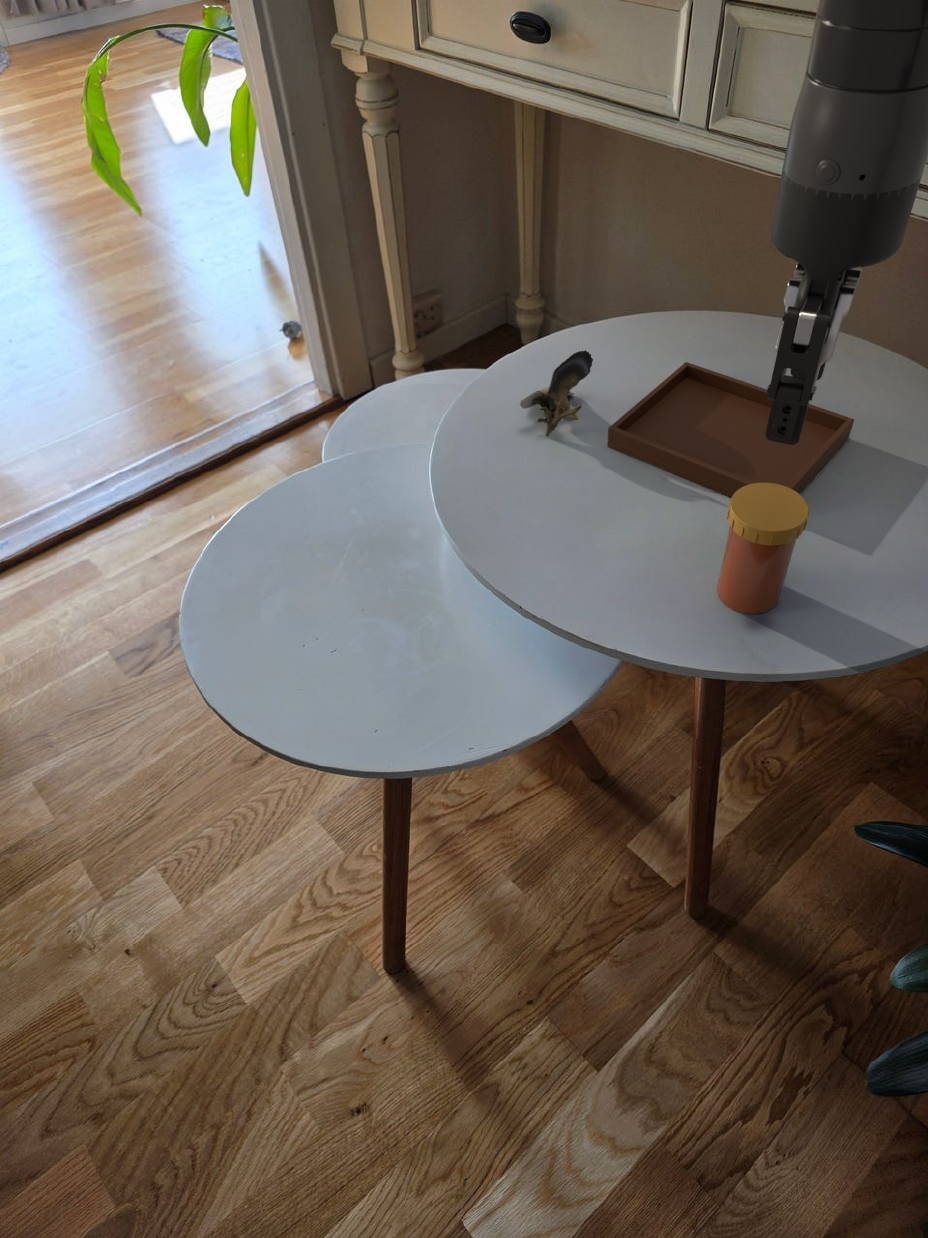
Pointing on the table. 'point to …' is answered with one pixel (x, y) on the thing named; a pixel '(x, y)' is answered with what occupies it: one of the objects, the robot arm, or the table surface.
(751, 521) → the jar lid
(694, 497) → the table surface
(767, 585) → the jar
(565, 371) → the eagle figurine
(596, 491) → the table surface
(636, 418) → the tray
